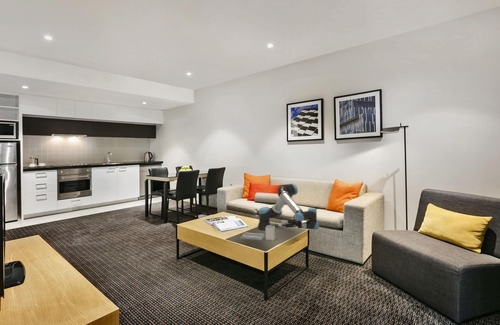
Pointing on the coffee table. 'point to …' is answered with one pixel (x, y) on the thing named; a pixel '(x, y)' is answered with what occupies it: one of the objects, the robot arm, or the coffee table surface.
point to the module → (270, 232)
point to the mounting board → (253, 236)
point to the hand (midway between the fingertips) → (280, 222)
